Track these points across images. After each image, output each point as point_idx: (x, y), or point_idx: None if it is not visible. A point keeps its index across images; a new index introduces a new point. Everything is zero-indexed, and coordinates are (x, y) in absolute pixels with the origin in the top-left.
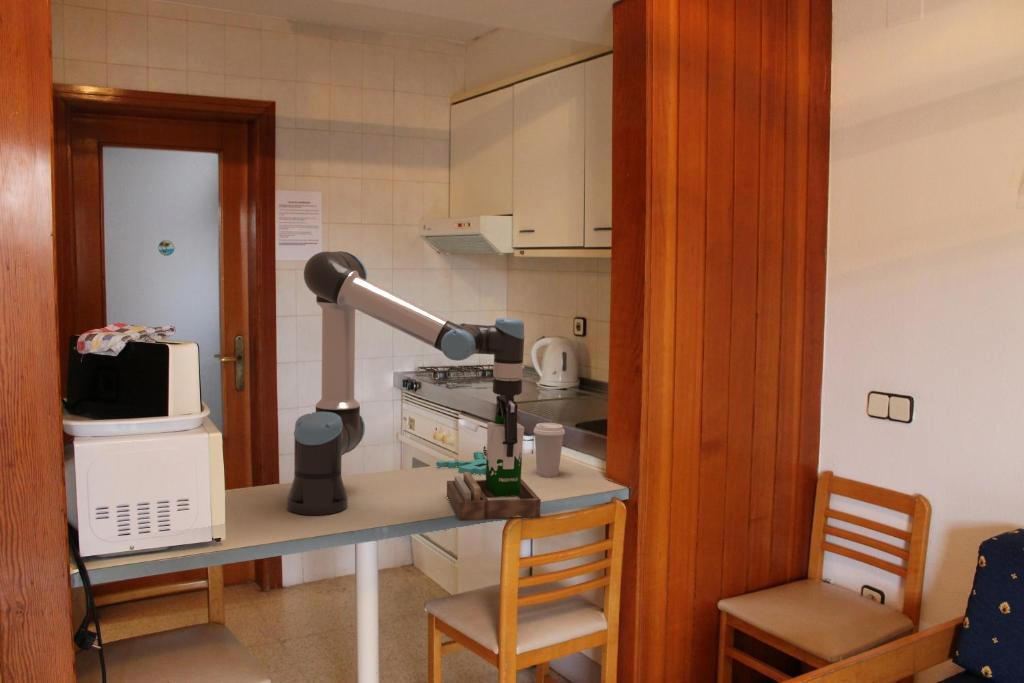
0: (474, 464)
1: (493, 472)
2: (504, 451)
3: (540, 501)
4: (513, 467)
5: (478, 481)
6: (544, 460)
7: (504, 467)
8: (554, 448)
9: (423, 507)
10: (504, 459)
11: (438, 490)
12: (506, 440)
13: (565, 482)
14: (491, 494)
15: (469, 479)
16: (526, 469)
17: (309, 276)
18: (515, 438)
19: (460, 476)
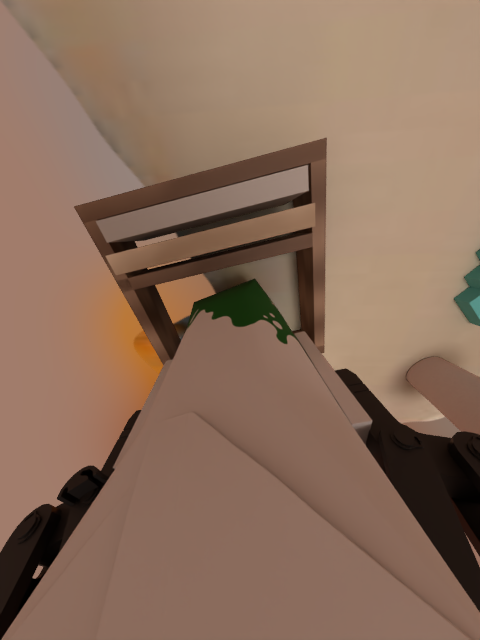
0: None
1: (190, 322)
2: (136, 422)
3: None
4: None
5: (312, 257)
6: (442, 388)
7: (165, 367)
8: (460, 425)
9: (193, 73)
10: (152, 390)
11: (374, 125)
12: (71, 515)
13: (370, 390)
14: (300, 284)
15: (213, 231)
16: (472, 341)
17: None
18: (40, 575)
19: (300, 192)
